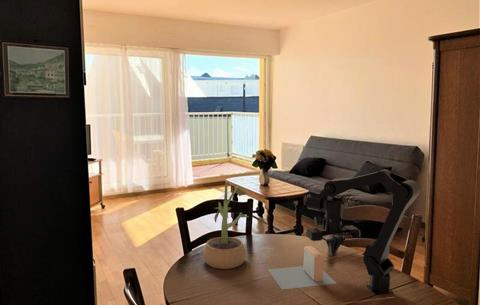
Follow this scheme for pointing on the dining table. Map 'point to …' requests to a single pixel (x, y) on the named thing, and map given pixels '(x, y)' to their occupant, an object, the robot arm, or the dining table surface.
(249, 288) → the dining table surface
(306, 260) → the tile
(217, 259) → the potted plant
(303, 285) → the mat
